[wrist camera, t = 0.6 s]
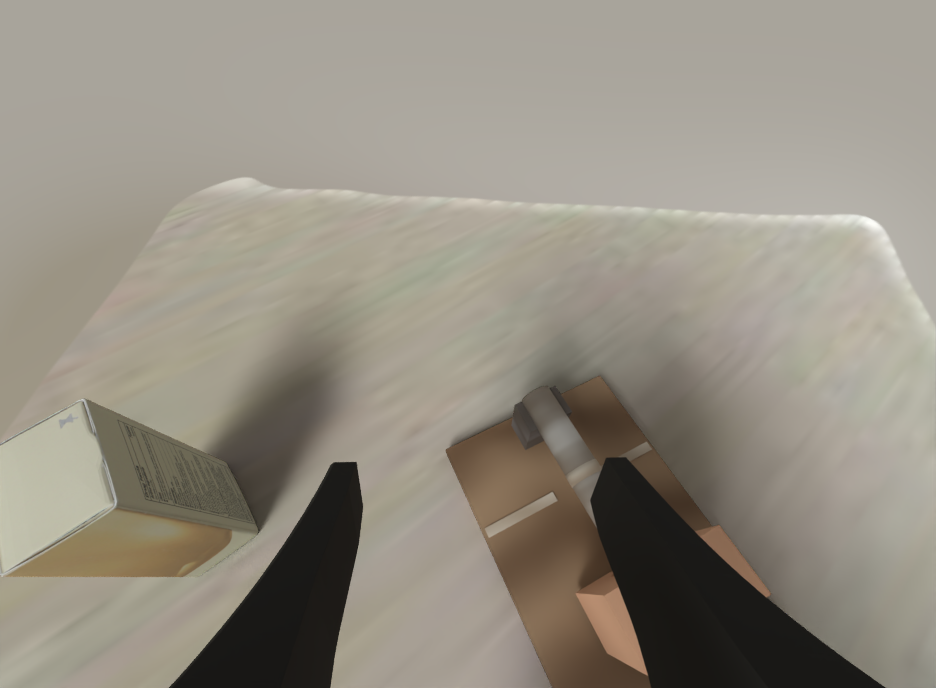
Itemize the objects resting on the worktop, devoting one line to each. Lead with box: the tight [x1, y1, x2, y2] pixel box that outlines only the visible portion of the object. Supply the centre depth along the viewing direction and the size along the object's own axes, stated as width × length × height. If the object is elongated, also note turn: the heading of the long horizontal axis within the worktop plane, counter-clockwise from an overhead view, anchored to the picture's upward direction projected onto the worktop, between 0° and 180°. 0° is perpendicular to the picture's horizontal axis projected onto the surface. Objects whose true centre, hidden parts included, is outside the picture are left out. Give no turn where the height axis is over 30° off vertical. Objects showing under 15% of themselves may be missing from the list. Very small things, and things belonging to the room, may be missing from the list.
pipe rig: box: [446, 376, 712, 688], centre depth 23 cm, size 18×13×6 cm
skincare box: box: [0, 399, 258, 577], centre depth 22 cm, size 6×4×12 cm
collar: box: [575, 525, 771, 676], centre depth 20 cm, size 3×6×6 cm, turn 116°
